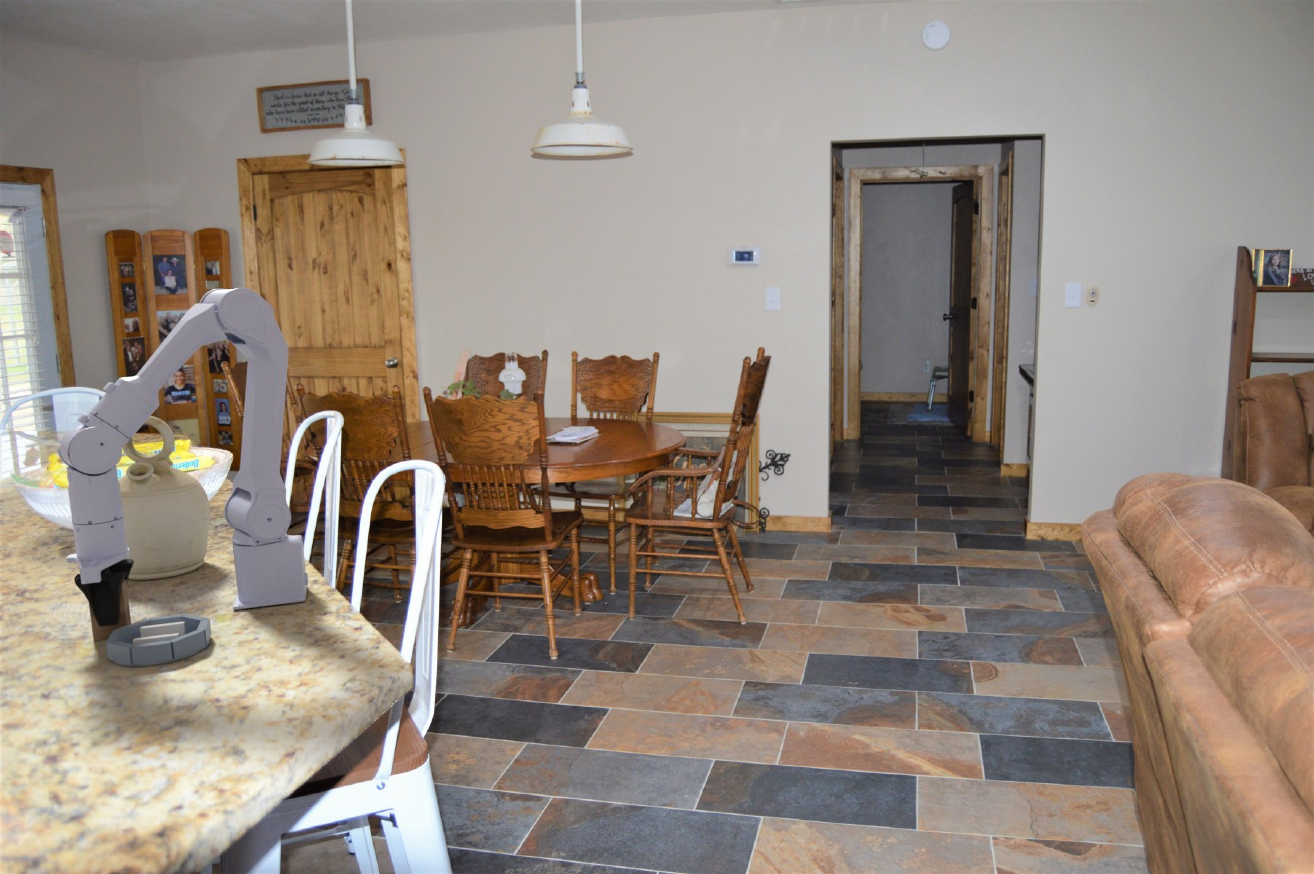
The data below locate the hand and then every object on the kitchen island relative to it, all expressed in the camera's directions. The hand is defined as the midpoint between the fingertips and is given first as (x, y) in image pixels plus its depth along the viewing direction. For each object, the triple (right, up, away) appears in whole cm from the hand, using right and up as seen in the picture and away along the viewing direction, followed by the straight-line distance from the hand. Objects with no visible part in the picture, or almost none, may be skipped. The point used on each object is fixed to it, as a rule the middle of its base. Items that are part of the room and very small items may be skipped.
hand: (111, 621), depth 126 cm
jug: (-8, +2, +30) cm, 31 cm away
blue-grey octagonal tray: (+9, -3, -5) cm, 11 cm away
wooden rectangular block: (0, -2, 0) cm, 2 cm away
